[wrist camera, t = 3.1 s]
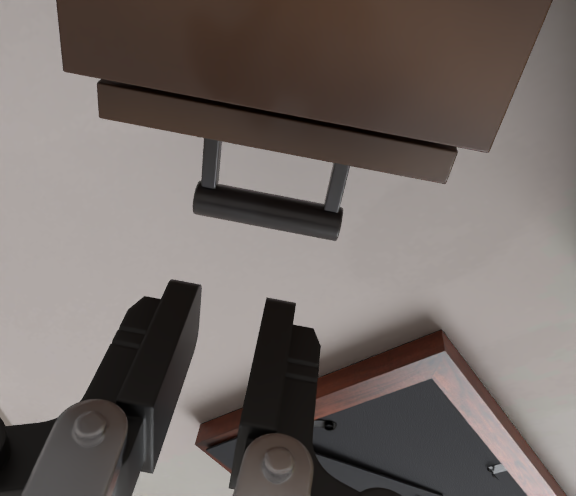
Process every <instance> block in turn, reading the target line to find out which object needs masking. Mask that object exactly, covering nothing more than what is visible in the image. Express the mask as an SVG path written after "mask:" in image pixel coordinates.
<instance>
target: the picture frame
mask: <svg viewBox="0 0 576 496" xmlns="http://www.w3.org/2000/svg"><path fill="white" fill-rule="evenodd" d="M242 409H243V408H241V409H239V410H236V411H234V412H231V413H229V414H226V415H223V416H221V417H218V418H216V419H213V420H211V421H208V422H206V423H203V424H200V428H199V432H198V435H197V439H196V442H195V445H196V446H198V447H199V448H200V449H201V450H202V451H204V452H205V453H206V454H207V455H209V456H210V457H211V458H212V459H214V460H215V461H216V462H217V463H219V464H220V465H221V466H222V467H224V468H225V469H226V470H227V471H229V472H230V473H231V472H232V465H233V459H234V453H235V447H236V441H237V435H238V429H239V423H240V419H241V414H242ZM313 448H314V452H315V455H316V457H317V459H318V461H319V463H320V464H321V465H322V467H323V468H324V469H325V470H326V471H327V472H328V473H329V474H330V475H331V476H333V477H334V478H336V479H337V480H339V481H341V482H343V483H344V484H346V485H348V486H350V487H352V488H354V489H355V490H357V491H359V492H361V491H363V490H365V489H368V488H374V487H380V488H386V489H390V490H392V491H394V492H397V493H398V494H400V495H401V496H567V495H566V494H565V493H564V491H563V490H562V489H561V488H560V486H559V485H558V484H557V482H556V481H555V480H554V478H553V477H552V476H551V474H550V473H549V472H548V470H547V469H546V468H545V466H544V465H543V464H542V462H541V461H540V460H539V458H538V457H537V456H536V454H535V453H534V452H533V450H532V449H531V448H530V446H529V445H528V444H527V442H526V441H525V440H524V438H523V437H522V436H521V434H520V433H519V432H518V430H517V429H516V428H515V426H514V425H513V424H512V423H511V421H510V420H509V419H508V417H507V416H506V415H505V413H504V412H503V411H502V409H501V408H500V407H499V405H498V404H497V403H496V401H495V400H494V399H493V397H492V396H491V395H490V393H489V392H488V391H487V389H486V388H485V387H484V385H483V384H482V383H481V381H480V380H479V379H478V377H477V376H476V375H475V373H474V372H473V371H472V369H471V368H470V367H469V365H468V364H467V363H466V361H465V360H464V359H463V358H462V356H461V355H460V354H459V352H458V351H457V350H456V348H455V347H454V346H453V344H452V343H451V342H450V340H449V339H448V338H447V336H446V335H445V334H444V332H443V331H442V330H440V331H437V332H435V333H432V334H430V335H427V336H425V337H422V338H419V339H417V340H414V341H412V342H409V343H407V344H404V345H402V346H399V347H397V348H394V349H391V350H389V351H386V352H384V353H381V354H379V355H376V356H374V357H371V358H369V359H366V360H363V361H361V362H358V363H356V364H353V365H351V366H348V367H346V368H343V369H341V370H338V371H335V372H333V373H330V374H328V375H325V376H323V377H320V378H318V381H317V394H316V406H315V417H314V429H313Z"/></svg>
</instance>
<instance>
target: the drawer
mask: <svg viewBox="0 0 576 496" xmlns="http://www.w3.org/2000/svg"><path fill="white" fill-rule="evenodd" d="M97 92H98V108H99V117H100V118H103V119H108V120H113V121H119V122H124V123H129V124H134V125H140V126H145V127H150V128H155V129H160V130H166V131H171V132H176V133H181V134H187V135H192V136H197V137H202V138H204V149H203V164H202V180H201V181H199V182H198V184H197V187H196V190H195V194H194V199H193V212H194V214H197V215H202V216H207V217H213V218H218V219H223V220H228V221H234V222H239V223H244V224H249V225H254V226H260V227H265V228H270V229H275V230H281V231H286V232H291V233H296V234H302V235H307V236H312V237H317V238H322V239H328V240H333V241H336V240H337V239H338V236H339V232H340V228H341V223H342V216H343V208H341V207H340V204H341V200H342V196H343V192H344V188H345V184H346V180H347V176H348V172H349V168H350V166H354V167H359V168H364V169H369V170H374V171H380V172H385V173H390V174H395V175H401V176H406V177H411V178H416V179H421V180H427V181H432V182H437V183H442V184H446V182H447V179H448V177H449V174H450V172H451V169H452V166H453V164H454V161H455V158H456V156H457V153H458V151H457V148H456V147H454V146H449V145H444V144H439V143H434V142H428V141H423V140H418V139H413V138H408V137H402V136H397V135H392V134H387V133H381V132H376V131H371V130H366V129H361V128H355V127H350V126H345V125H340V124H334V123H329V122H324V121H319V120H314V119H308V118H303V117H298V116H293V115H288V114H282V113H277V112H272V111H267V110H261V109H256V108H251V107H246V106H241V105H235V104H230V103H225V102H220V101H215V100H209V99H204V98H199V97H194V96H188V95H183V94H178V93H173V92H168V91H162V90H157V89H152V88H147V87H141V86H136V85H131V84H126V83H121V82H115V81H110V80H105V79H101V80H100V81H98V82H97ZM222 141H223V142H228V143H234V144H239V145H244V146H249V147H254V148H260V149H265V150H270V151H275V152H281V153H286V154H291V155H296V156H301V157H307V158H312V159H317V160H322V161H327V162H333V168H332V172H331V177H330V181H329V185H328V190H327V194H326V198H325V203H324V204H321V203H315V202H310V201H305V200H300V199H295V198H289V197H284V196H279V195H274V194H268V193H263V192H258V191H253V190H248V189H242V188H237V187H232V186H227V185H221V184H218V180H219V169H220V157H221V145H222Z"/></svg>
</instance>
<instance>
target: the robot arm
mask: <svg viewBox="0 0 576 496" xmlns="http://www.w3.org/2000/svg"><path fill="white" fill-rule="evenodd" d="M201 291H202V287H201V285H199V284H194V283H189V282H183V281H178V280H173V279H171V280H170V281H169V283H168V285H167V287H166V289H165V291H164V294H163V296H162V298H161V299H157V298H151V297H146V296H144V297H143V298H142V299H141V300H139V301H138V302H137V303H136V304H134V305H133V306H132V307H131V308H129V309H128V311H127V313H126V315H125V317H124V319H123V321H122V323H121V325H120V328H119V330H118V331H117V333H116V335H115V336H114V338H113V341H112V344H110V346H109V348H108V350H107V352H106V354H105V356H104V358H103V360H102V362H101V364H100V366H99V368H98V370H97V372H96V374H95V376H94V378H93V380H92V381H91V383H90V385H89V387H88V389H87V391H86V393H85V395H84V397H83V398H82V400H81V401H80V402H78V403H76V404H74V405H72V406H70V407H69V408H67V409H66V410H65V411H64V412H63V413H61V415H60V416H59V417H58V418H56V419H53V420H50V421H46V422H41V423H33V424H23V425H13V426H5V425H4V422H3V421H2V419H1V418H0V496H132V493H133V490H134V488H135V485H136V482H137V479H138V477H139V474H140V471H142V472H147V473H152V474H153V472H154V469H155V466H156V463H157V460H158V457H159V454H160V451H161V448H162V445H163V442H164V439H165V436H166V433H167V430H168V428H169V425H170V422H171V419H172V416H173V413H174V410H175V407H176V404H177V401H178V398H179V395H180V392H181V389H182V386H183V383H184V380H185V377H186V374H187V371H188V368H189V365H190V362H191V359H192V356H193V353H194V350H195V346H196V342H197V337H198V330H199V318H200V305H201ZM295 306H296V303H293V302H287V301H282V300H277V299H272V298H267V299H266V303H265V308H264V312H263V317H262V321H261V326H260V331H259V335H258V340H257V345H256V349H255V354H254V358H253V363H252V368H251V372H250V377H249V382H248V386H247V391H246V395H245V400H244V405H243V409H242V414H241V419H240V423H239V429H238V435H237V441H236V447H235V453H234V459H233V465H232V472H231V478H230V484H229V488H230V489H235V490H234V493H233V496H401V495H400V494H398V493H397V492H394V491H392V490H390V489H386V488H380V487H374V488H368V489H365V490H363V491H361V492H359V491H357V490H355V489H354V488H352V487H350V486H348V485H346V484H344V483H343V482H341V481H339V480H337V479H336V478H334V477H333V476H331V475H330V474H329V473H328V472H327V471H326V470H325V469H324V468H323V467H322V465H321V464H320V463H319V461H318V459H317V457H316V455H315V452H314V448H313V429H314V417H315V406H316V394H317V381H318V371H319V359H320V348H321V346H320V344H319V341H318V339H317V336H316V334H315V331H314V329H313V328H308V327H302V326H297V325H293V320H294V313H295Z"/></svg>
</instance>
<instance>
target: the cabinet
mask: <svg viewBox="0 0 576 496" xmlns="http://www.w3.org/2000/svg"><path fill="white" fill-rule="evenodd" d="M552 1H553V0H56V2H57V12H58V22H59V32H60V42H61V53H62V63H63V70H64V72H68V73H74V74H79V75H84V76H89V77H95V78H100V79H105V80H110V81H115V82H121V83H126V84H131V85H136V86H141V87H147V88H152V89H157V90H162V91H168V92H173V93H178V94H183V95H188V96H194V97H199V98H204V99H209V100H215V101H220V102H225V103H230V104H235V105H241V106H246V107H251V108H256V109H261V110H267V111H272V112H277V113H282V114H288V115H293V116H298V117H303V118H308V119H314V120H319V121H324V122H329V123H334V124H340V125H345V126H350V127H355V128H361V129H366V130H371V131H376V132H381V133H387V134H392V135H397V136H402V137H408V138H413V139H418V140H423V141H428V142H434V143H439V144H444V145H449V146H454V147H460V148H465V149H470V150H475V151H481V152H486V153H488V152H489V151H490V149H491V146H492V144H493V142H494V139H495V137H496V134H497V132H498V130H499V127H500V125H501V123H502V120H503V118H504V115H505V113H506V111H507V108H508V106H509V103H510V101H511V99H512V96H513V94H514V91H515V89H516V87H517V84H518V82H519V80H520V77H521V75H522V72H523V70H524V68H525V65H526V63H527V60H528V58H529V56H530V53H531V51H532V49H533V46H534V44H535V41H536V39H537V37H538V34H539V32H540V29H541V27H542V25H543V22H544V20H545V17H546V15H547V13H548V10H549V8H550V6H551V3H552Z"/></svg>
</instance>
